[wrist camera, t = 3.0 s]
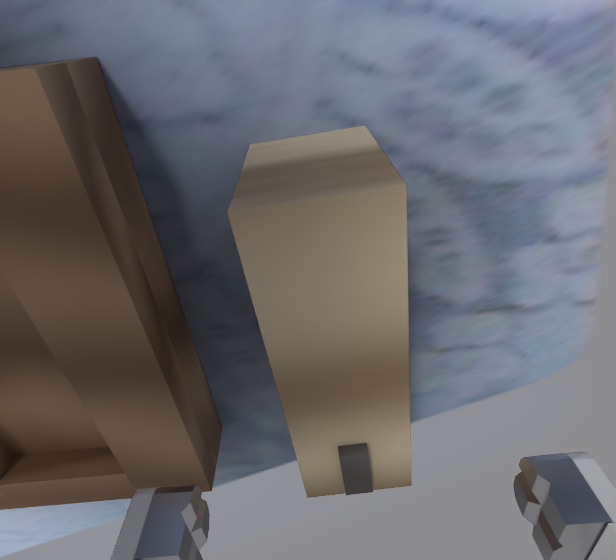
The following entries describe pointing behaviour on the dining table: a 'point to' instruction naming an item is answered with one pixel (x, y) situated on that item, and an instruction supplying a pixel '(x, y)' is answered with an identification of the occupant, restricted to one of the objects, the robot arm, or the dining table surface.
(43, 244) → the frame
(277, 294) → the door
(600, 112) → the dining table surface
